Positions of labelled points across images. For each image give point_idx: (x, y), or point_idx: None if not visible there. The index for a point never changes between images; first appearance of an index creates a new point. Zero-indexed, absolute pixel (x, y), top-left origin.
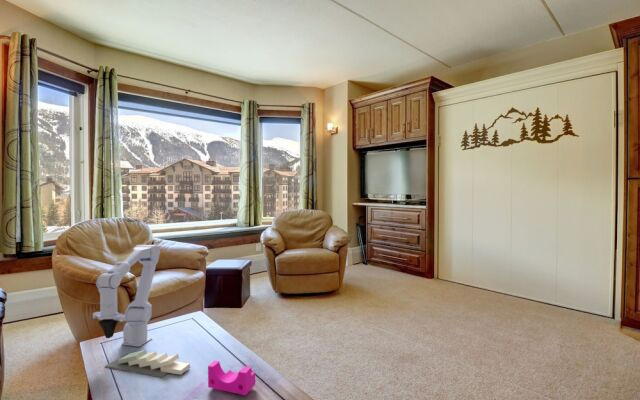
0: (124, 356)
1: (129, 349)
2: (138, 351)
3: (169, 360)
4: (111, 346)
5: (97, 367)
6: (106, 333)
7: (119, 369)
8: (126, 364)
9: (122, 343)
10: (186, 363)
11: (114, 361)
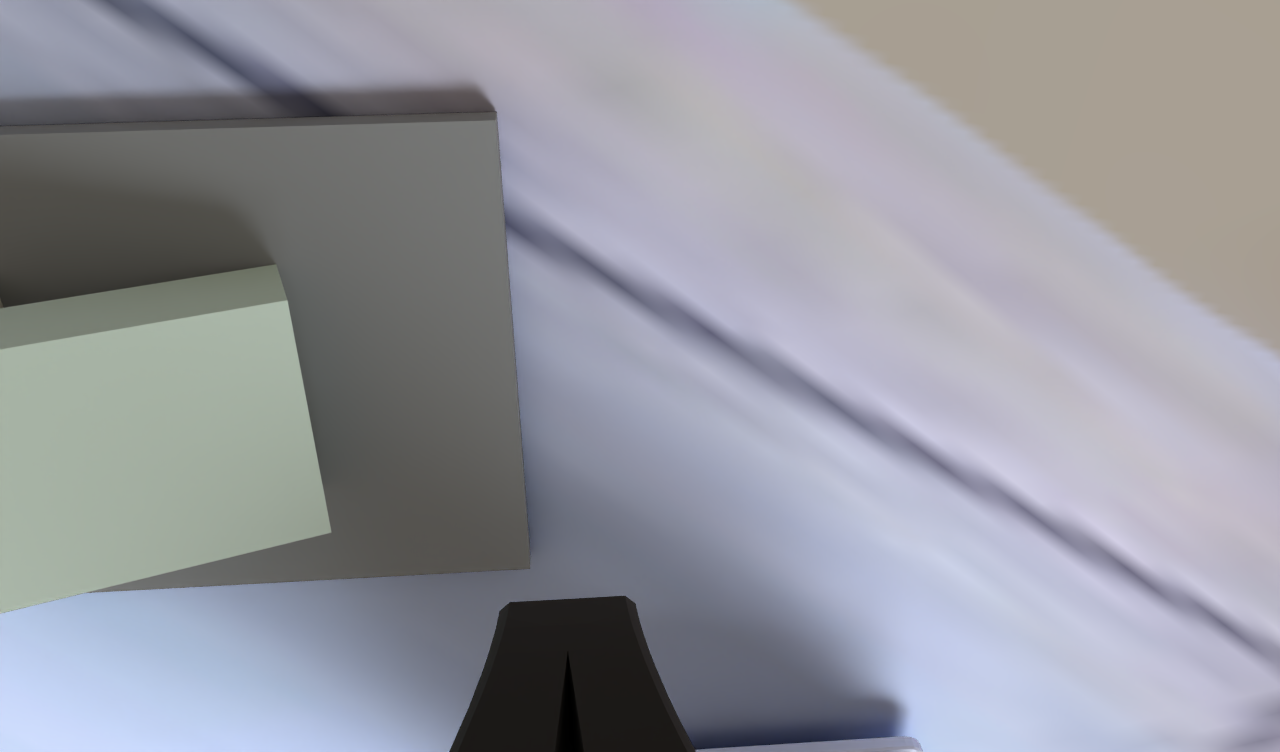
0: (306, 442)
1: None
2: (28, 605)
3: None
4: (1059, 655)
5: (652, 59)
6: (539, 732)
7: (74, 125)
8: None
9: (899, 749)
10: None
11: (473, 309)
